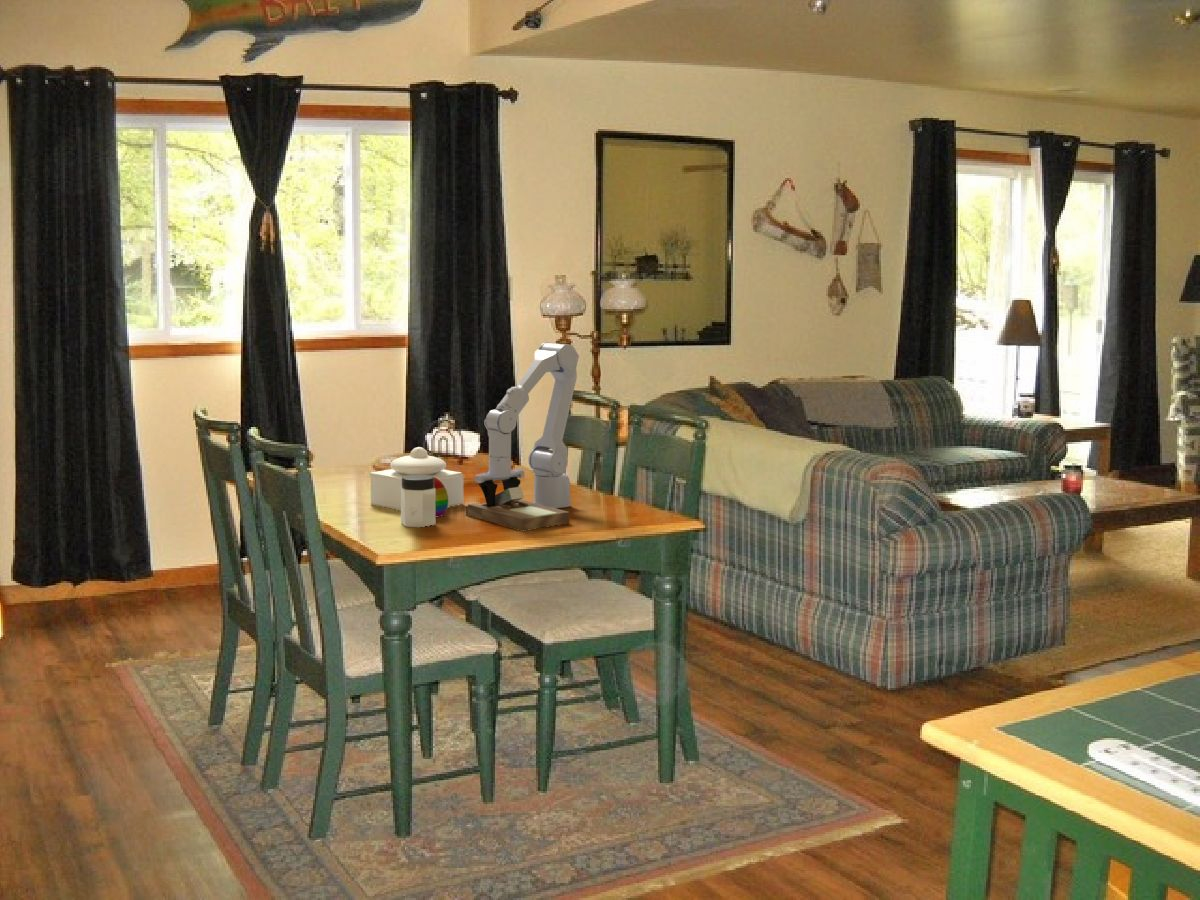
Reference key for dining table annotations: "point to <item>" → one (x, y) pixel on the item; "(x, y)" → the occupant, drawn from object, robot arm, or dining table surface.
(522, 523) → the board
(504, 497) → the bar
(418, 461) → the butter dish
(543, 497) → the robot arm
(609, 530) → the dining table surface
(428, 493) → the jar
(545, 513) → the pad
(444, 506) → the decorative egg
